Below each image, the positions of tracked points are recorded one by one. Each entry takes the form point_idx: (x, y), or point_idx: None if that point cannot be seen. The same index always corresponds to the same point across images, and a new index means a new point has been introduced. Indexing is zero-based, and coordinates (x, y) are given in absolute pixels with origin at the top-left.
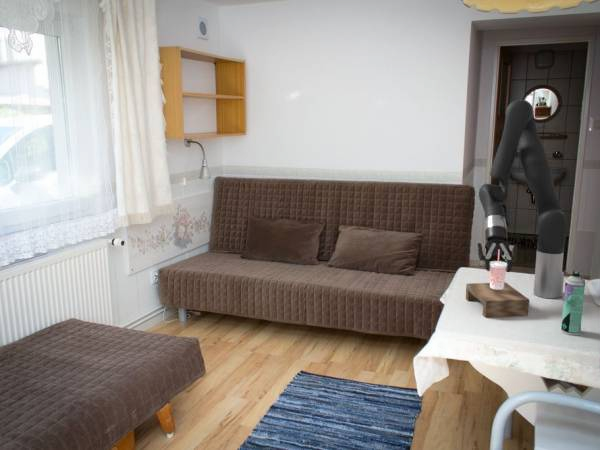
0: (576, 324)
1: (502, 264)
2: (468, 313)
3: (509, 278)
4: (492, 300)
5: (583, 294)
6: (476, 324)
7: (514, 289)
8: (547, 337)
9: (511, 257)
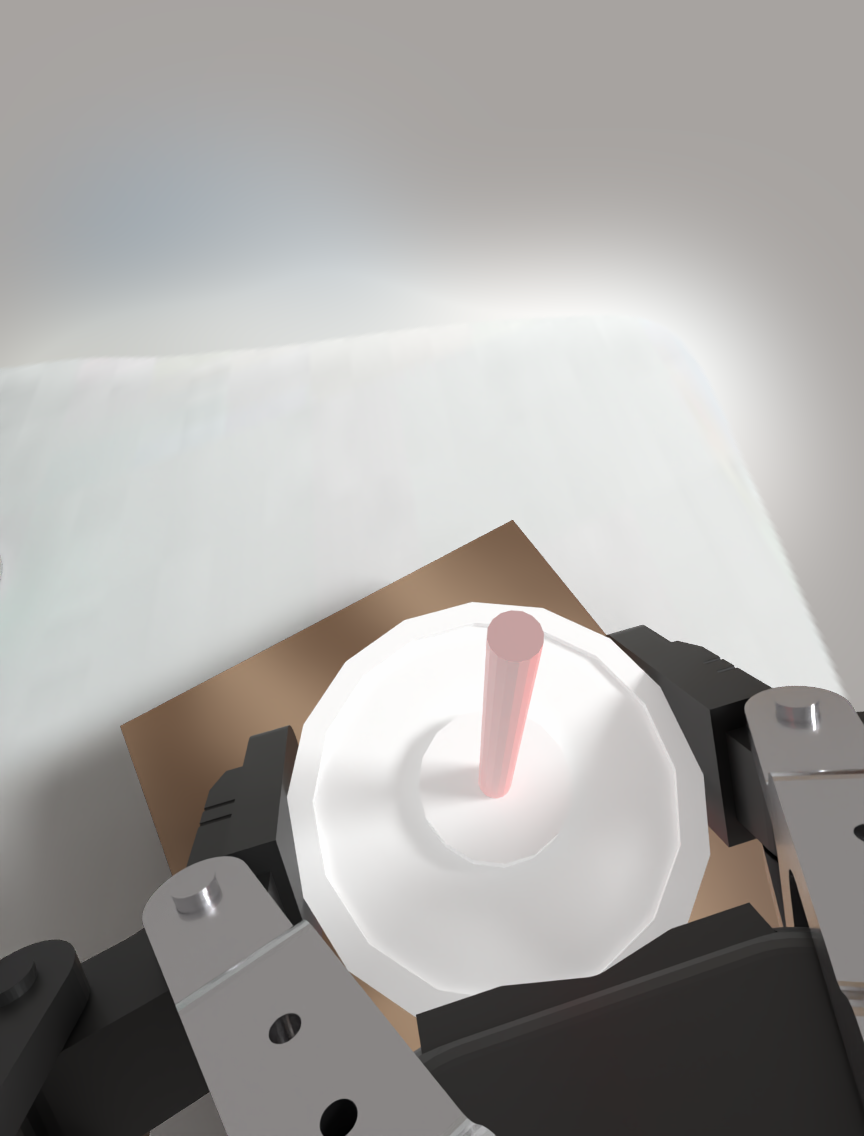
0: None
1: (392, 755)
2: None
3: None
4: (464, 551)
5: None
6: (529, 466)
7: None
8: (114, 456)
9: (124, 1009)
